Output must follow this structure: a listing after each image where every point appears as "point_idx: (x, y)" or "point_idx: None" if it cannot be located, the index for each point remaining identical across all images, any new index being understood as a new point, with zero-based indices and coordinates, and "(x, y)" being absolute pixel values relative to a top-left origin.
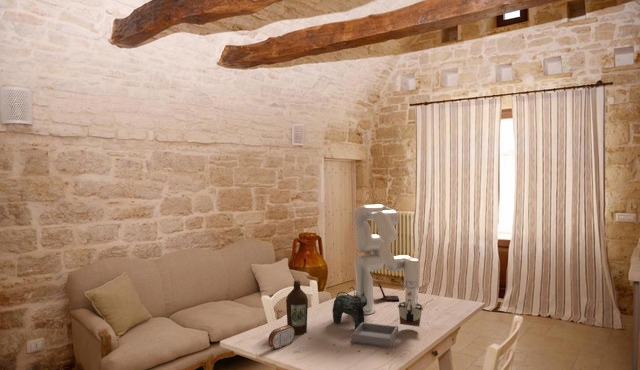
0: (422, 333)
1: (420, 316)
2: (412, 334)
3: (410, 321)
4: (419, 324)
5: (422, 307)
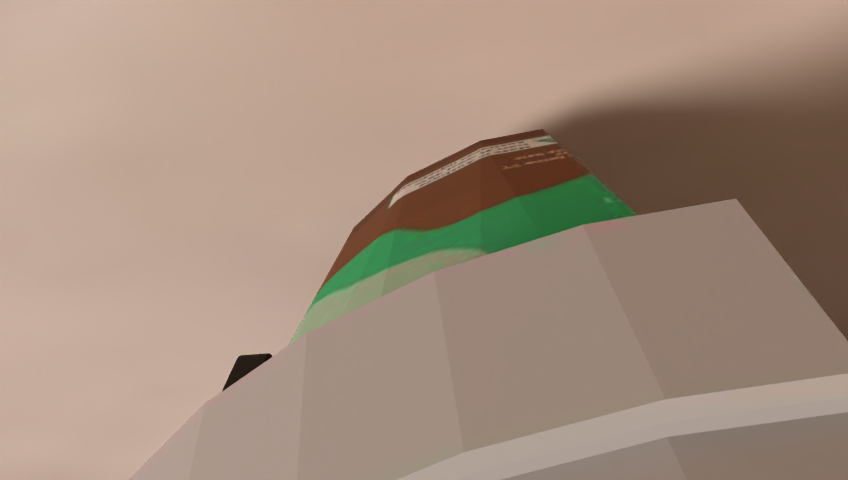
0: (576, 12)
1: (616, 207)
2: (702, 192)
3: None
4: (551, 142)
5: (655, 418)
